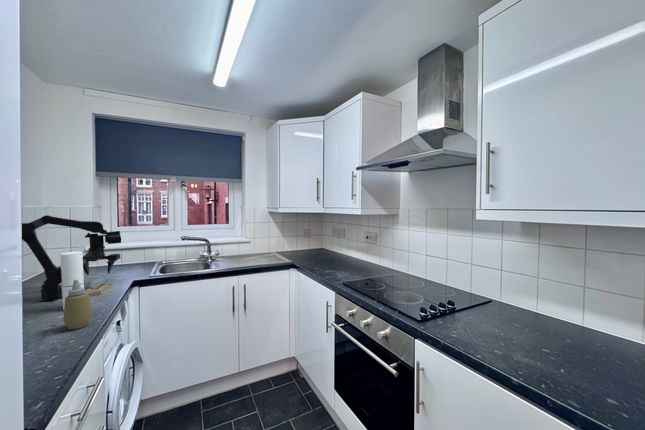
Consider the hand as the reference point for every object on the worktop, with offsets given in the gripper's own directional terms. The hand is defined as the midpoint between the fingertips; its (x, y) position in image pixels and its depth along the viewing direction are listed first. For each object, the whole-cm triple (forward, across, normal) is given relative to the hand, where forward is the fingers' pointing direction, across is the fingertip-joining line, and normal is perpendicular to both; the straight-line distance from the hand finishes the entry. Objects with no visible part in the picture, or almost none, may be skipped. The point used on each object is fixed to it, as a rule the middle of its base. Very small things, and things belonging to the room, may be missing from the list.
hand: (98, 274), depth 142 cm
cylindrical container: (+9, 0, -24) cm, 26 cm away
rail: (+9, 0, 0) cm, 9 cm away
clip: (+9, 0, 0) cm, 9 cm away
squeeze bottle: (+9, +11, -47) cm, 49 cm away
